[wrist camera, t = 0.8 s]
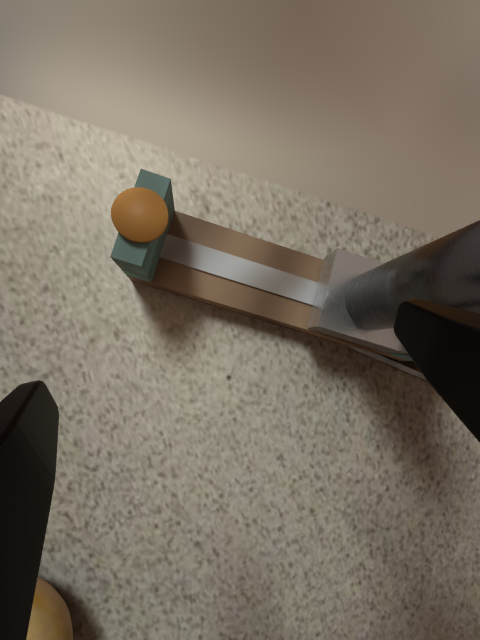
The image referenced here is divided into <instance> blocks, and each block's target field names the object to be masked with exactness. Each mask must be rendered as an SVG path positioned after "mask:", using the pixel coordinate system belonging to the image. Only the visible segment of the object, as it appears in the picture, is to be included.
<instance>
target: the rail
mask: <svg viewBox="0 0 480 640" xmlns="http://www.w3.org/2000/svg"><path fill="white" fill-rule="evenodd" d="M111 218H112V221H113V224H114V226H115V227H116V229H117V231H118V232H119V233H118V236H117V239H116V242H115V245H114V248H113V251H112V254H111V256H110V257H111V258H112V259H113V260H114V262H115V263H116V264H117V265H118V266H119V267H120V268H121V269H122V271H123V272H124V273H125V274H126V275H127V276H128V277H129V278H130V280H132V281H136V282H139V283H142V284H146V285H149V286H152V287H155V288H159V289H162V290H165V291H169V292H172V293H175V294H179V295H182V296H185V297H189V298H192V299H195V300H199V301H202V302H205V303H209V304H212V305H215V306H218V307H222V308H225V309H228V310H232V311H235V312H238V313H242V314H245V315H248V316H252V317H255V318H258V319H262V320H265V321H268V322H271V323H275V324H278V325H281V326H285V327H288V328H291V329H295V330H298V331H301V332H305V333H308V334H311V335H315V336H318V337H321V338H324V339H328V340H331V341H334V342H338V343H341V344H344V345H349V346H353V347H356V348H360V349H363V350H367V351H370V352H373V353H377V354H380V355H383V356H387V357H390V358H393V359H397V360H400V361H413V360H412V358H411V357H410V355H409V354H402V353H386V352H383V351H380V350H376V349H373V348H370V347H366V346H363V345H360V344H357V343H353V342H350V341H347V340H343V339H340V338H337V337H334V336H330V335H327V334H324V333H320V332H317V331H314V330H310V329H307V324H308V320H309V316H310V312H311V308H312V304H313V300H314V296H315V292H316V289H317V285H318V281H319V277H320V273H321V269H322V265H323V261H324V260H322V259H319V258H316V257H313V256H310V255H307V254H304V253H301V252H298V251H295V250H292V249H289V248H286V247H283V246H279V245H276V244H273V243H270V242H267V241H264V240H261V239H258V238H255V237H252V236H249V235H246V234H243V233H240V232H237V231H234V230H231V229H228V228H225V227H222V226H219V225H216V224H213V223H210V222H207V221H204V220H201V219H198V218H195V217H192V216H189V215H186V214H183V213H180V212H177V211H175V209H174V201H173V194H172V186H171V179H169V178H166V177H163V176H160V175H158V174H155V173H152V172H149V171H146V170H143V169H141V170H140V173H139V176H138V179H137V181H136V184H135V187H134V188H130V189H127V190H125V191H123V192H122V193H121V194H119V195H118V196H117V198H116V199H115V201H114V202H113V205H112V208H111Z"/></svg>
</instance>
